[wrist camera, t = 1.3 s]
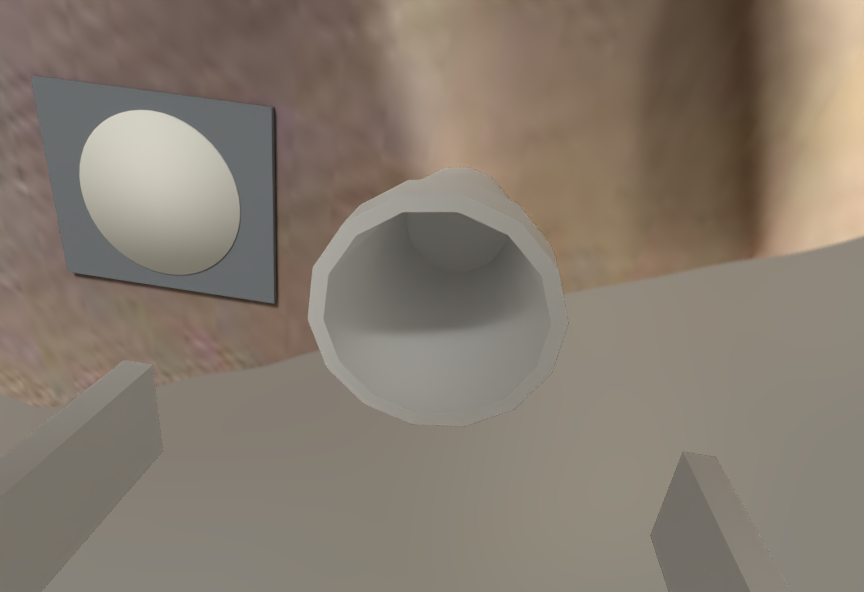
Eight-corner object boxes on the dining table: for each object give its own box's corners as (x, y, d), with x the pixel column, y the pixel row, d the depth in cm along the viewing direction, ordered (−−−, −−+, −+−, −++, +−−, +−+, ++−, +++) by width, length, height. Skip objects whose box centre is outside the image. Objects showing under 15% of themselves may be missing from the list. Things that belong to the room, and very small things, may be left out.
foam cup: (470, 322, 34) (455, 465, 22) (349, 235, 32) (264, 337, 20) (574, 206, 30) (625, 303, 18) (443, 101, 28) (406, 132, 17)
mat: (36, 75, 30) (29, 75, 30) (274, 107, 29) (270, 108, 29) (72, 269, 35) (66, 272, 35) (276, 301, 34) (273, 304, 34)
